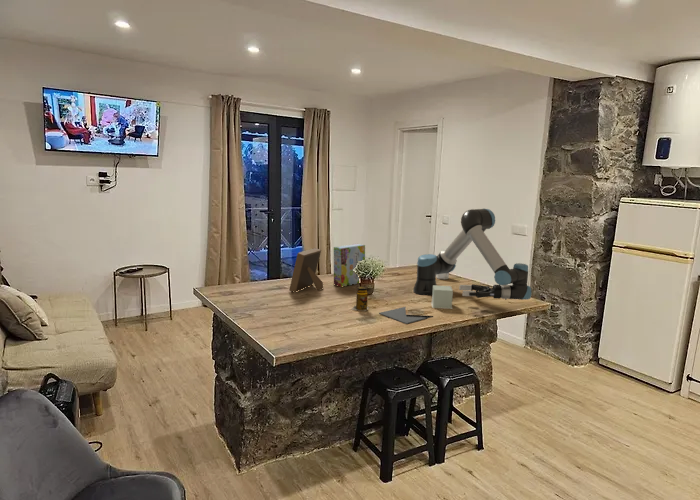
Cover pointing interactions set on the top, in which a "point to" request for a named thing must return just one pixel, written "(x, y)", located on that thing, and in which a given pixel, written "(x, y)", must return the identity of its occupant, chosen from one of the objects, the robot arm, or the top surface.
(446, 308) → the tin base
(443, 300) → the pale sage matte cube
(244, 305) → the top surface
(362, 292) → the condiment
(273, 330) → the top surface
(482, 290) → the robot arm
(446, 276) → the jar
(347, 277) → the snack box
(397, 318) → the rubber mat
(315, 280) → the photo frame
